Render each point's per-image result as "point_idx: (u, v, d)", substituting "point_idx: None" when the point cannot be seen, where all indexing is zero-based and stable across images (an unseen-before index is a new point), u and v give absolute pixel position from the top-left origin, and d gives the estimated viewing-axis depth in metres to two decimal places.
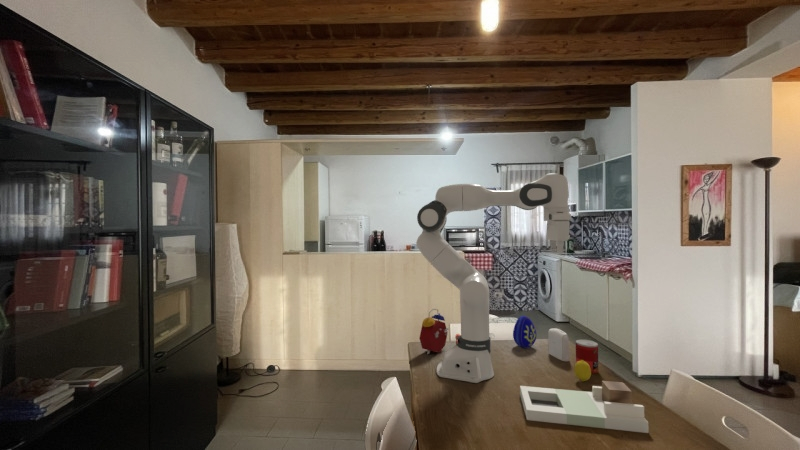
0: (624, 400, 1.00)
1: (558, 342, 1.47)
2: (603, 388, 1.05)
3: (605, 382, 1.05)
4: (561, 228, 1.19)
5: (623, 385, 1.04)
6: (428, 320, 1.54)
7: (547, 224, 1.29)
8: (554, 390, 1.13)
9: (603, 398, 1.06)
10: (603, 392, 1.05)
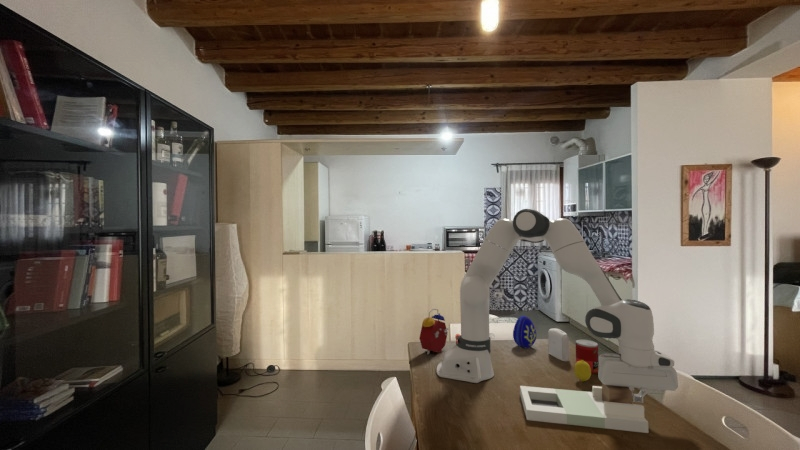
0: (624, 400, 1.00)
1: (558, 342, 1.47)
2: (603, 388, 1.05)
3: None
4: None
5: None
6: (428, 320, 1.54)
7: (641, 369, 0.99)
8: (554, 390, 1.13)
9: (603, 398, 1.06)
10: (603, 392, 1.05)
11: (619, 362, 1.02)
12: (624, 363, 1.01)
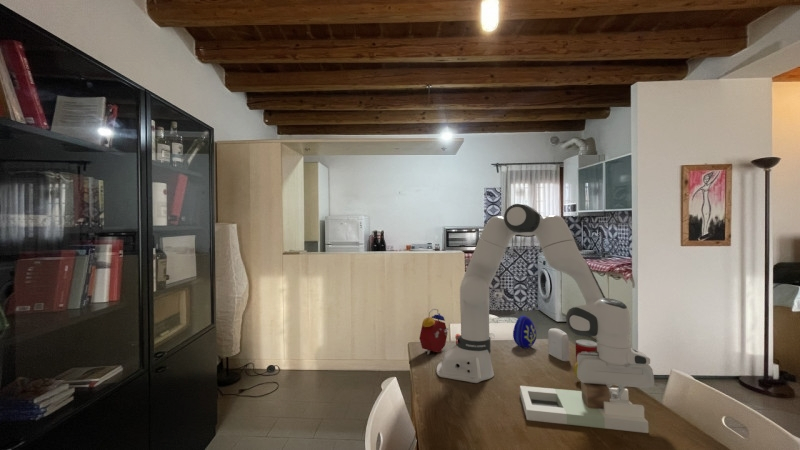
0: (602, 397, 1.01)
1: (558, 342, 1.47)
2: (582, 386, 1.07)
3: None
4: None
5: None
6: (428, 320, 1.54)
7: (618, 367, 1.00)
8: (554, 390, 1.13)
9: (582, 396, 1.07)
10: (582, 390, 1.07)
11: (597, 360, 1.03)
12: (601, 361, 1.03)
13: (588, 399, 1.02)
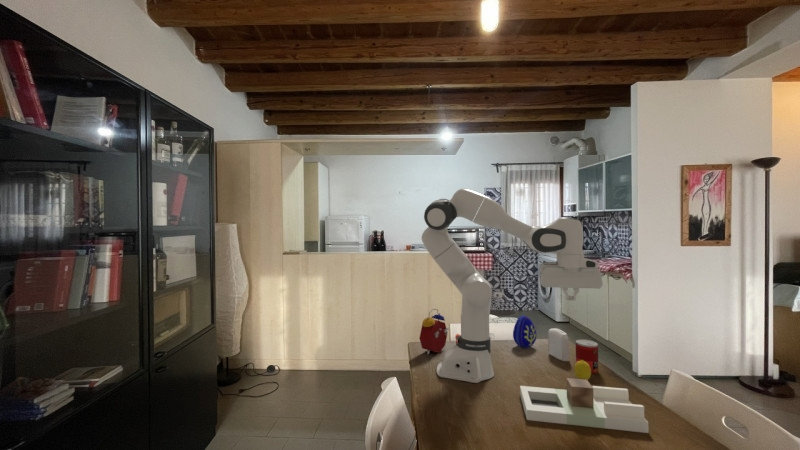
0: (586, 397, 1.02)
1: (558, 342, 1.47)
2: (567, 385, 1.08)
3: (569, 379, 1.08)
4: None
5: (586, 382, 1.06)
6: (428, 320, 1.54)
7: (572, 271, 1.20)
8: (554, 390, 1.13)
9: (567, 395, 1.08)
10: (567, 389, 1.07)
11: (555, 267, 1.22)
12: (559, 268, 1.22)
13: (572, 398, 1.03)
